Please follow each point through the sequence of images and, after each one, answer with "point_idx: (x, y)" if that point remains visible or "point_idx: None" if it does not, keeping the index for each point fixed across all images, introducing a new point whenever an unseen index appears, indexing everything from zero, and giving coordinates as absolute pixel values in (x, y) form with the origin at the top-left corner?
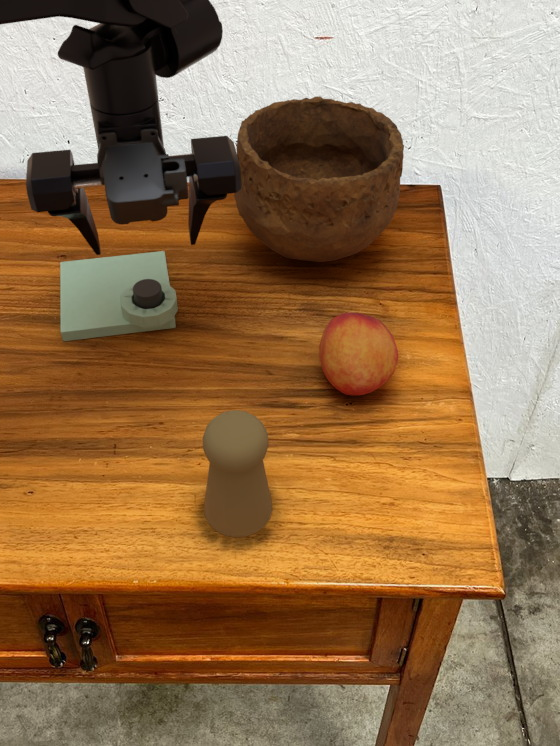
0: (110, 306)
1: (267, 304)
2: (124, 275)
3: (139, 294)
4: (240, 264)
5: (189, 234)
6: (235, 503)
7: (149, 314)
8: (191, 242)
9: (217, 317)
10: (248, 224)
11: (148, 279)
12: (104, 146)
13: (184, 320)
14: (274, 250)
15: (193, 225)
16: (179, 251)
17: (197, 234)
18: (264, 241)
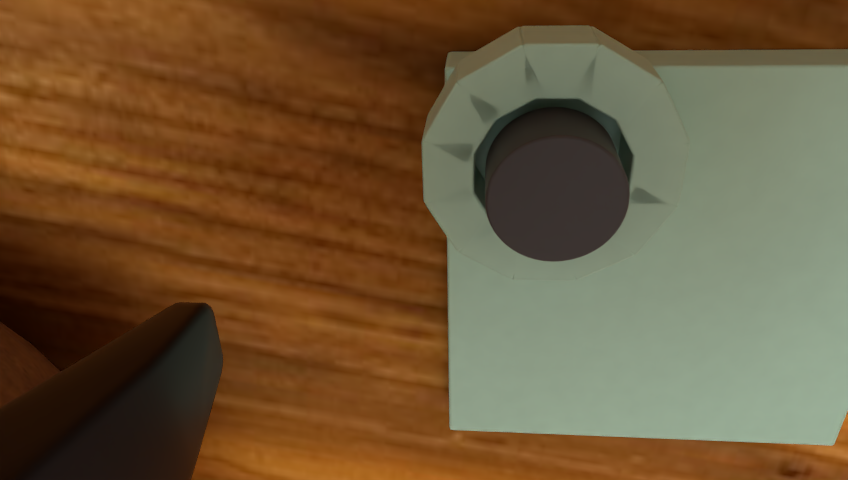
0: (712, 189)
1: (78, 126)
2: (615, 344)
3: (603, 160)
4: None
5: (212, 397)
6: None
7: (565, 56)
8: (192, 315)
9: (273, 86)
10: None
11: (540, 255)
12: None
13: (408, 92)
14: (11, 345)
15: (42, 435)
16: (401, 426)
17: (91, 358)
18: (20, 381)
